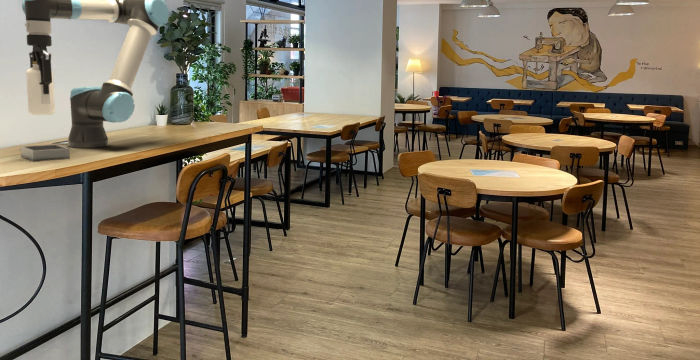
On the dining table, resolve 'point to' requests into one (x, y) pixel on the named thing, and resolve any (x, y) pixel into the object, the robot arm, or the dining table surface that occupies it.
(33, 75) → the potion bottle
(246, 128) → the dining table surface
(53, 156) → the grey square tray
